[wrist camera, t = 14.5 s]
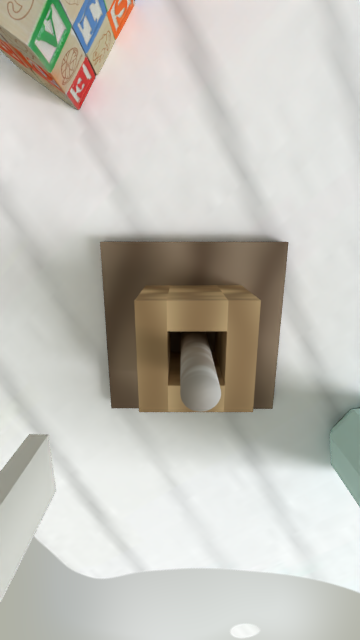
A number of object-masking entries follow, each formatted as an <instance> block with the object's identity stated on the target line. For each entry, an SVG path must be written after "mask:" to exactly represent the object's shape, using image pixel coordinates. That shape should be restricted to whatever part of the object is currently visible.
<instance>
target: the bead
mask: <svg viewBox="0 0 360 640" xmlns="http://www.w3.org/2000/svg"><path fill="white" fill-rule="evenodd" d="M134 305H135V328H136V350H137V373H138V395H139V412H198V411H193V410H191V409H189V408H188V407H186V406H185V405H184V403H183V402H182V400H181V396H180V370H181V352H171V331H216V334H215V352H211V354H212V358H213V362H214V366H215V370H216V373H217V377H218V381H219V385H220V389H221V397H220V400H219V402H218V403H217V405H216V406H215V407H213V408H212V409H210V410H208V411H203V412H253V403H254V390H255V376H256V362H257V348H258V334H259V320H260V306H261V300H260V299H258V298H257V297H256V296H255V295H253V294H252V293H251V292H249V291H248V290H247V289H246V288H244V287H243V286H242V285H146V286H145V287H144V288H143V290H142V291H141V292H140V294H139V295H138V296H137V298H136V299H135V300H134Z"/></svg>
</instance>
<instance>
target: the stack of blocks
mask: <svg viewBox="0 0 360 640" xmlns="http://www.w3.org/2000/svg"><path fill="white" fill-rule="evenodd" d="M134 3H135V0H0V50H1V51H2V52H3V53H4V54H5V55H6V56H7V57H8V58H9V59H10V60H11V61H12V62H13V63H14V64H15V65H16V66H17V67H19V68H20V69H22V70H23V71H24V72H26V73H27V74H28V75H30V76H31V77H32V78H34V79H35V80H37V81H38V82H39V83H41V84H42V85H43V86H45V87H46V88H48V89H49V90H50V91H51V92H53V93H54V94H55V95H57V96H58V97H59V98H61V99H62V100H63V101H65V102H66V103H68V104H69V105H71V106H72V107H74V108H75V109H77V110H79V109H80V107H81V105H82V103H83V101H84V99H85V97H86V95H87V93H88V91H89V89H90V87H91V85H92V83H93V81H94V79H95V76H96V75H98V74H99V72H100V70H101V68H102V66H103V64H104V62H105V60H106V58H107V56H108V54H109V52H110V51H111V49H112V47H113V44H114V42H115V40H116V39H117V37H118V35H119V33H120V31H121V29H122V28H123V26H124V24H125V22H126V20H127V18H128V16H129V14H130V12H131V10H132V8H133V7H134Z"/></svg>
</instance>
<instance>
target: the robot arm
mask: <svg viewBox="0 0 360 640" xmlns="http://www.w3.org/2000/svg"><path fill="white" fill-rule="evenodd" d="M55 492H56V485H55V478H54V471H53V464H52V457H51V449H50V442H49V435H37V434H29V435H28V437H27V438H26V439H25V440H24V442H23V443H22V444H21V446H20V447H19V448H18V450H17V451H16V452H15V453H14V455H13V456H12V457H11V459H10V460H9V461H8V462H7V464H6V465H5V466H4V468H3V469H2V470H1V471H0V602H1V601H2V598H3V596H4V594H5V592H6V590H7V588H8V586H9V584H10V582H11V580H12V578H13V576H14V574H15V572H16V570H17V568H18V566H19V564H20V562H21V560H22V558H23V556H24V554H25V552H26V550H27V548H28V546H29V544H30V542H31V540H32V538H33V536H34V534H35V532H36V530H37V528H38V526H39V524H40V522H41V520H42V518H43V516H44V514H45V512H46V510H47V508H48V506H49V504H50V502H51V500H52V498H53V496H54V494H55Z"/></svg>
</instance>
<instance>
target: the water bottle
mask: <svg viewBox="0 0 360 640" xmlns="http://www.w3.org/2000/svg"><path fill="white" fill-rule="evenodd" d="M329 436H330V453H331V465H332V466H333V468H334V469H335V471H336V472H337V474H338V475H339V477H340V478H341V480H342V481H343V483H344V484H345V486H346V487H347V489H348V490H349V492H350V493H351V495H352V496H353V498H354V499H355V501H356V502H357V504H358V505H359V507H360V408H356V409H351V410H350V411H349V412H348V413H347V414H346V415H345V416H344V417H343V418H342V419H341V420H340V421H339V422H338V423H337V424H336V425H335V426H334V427H333V428H332V429H331V432H330V435H329Z"/></svg>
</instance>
